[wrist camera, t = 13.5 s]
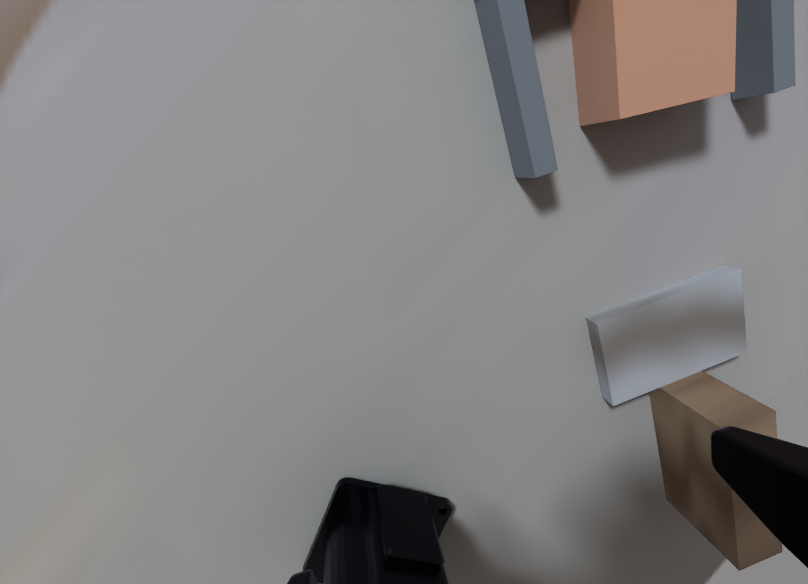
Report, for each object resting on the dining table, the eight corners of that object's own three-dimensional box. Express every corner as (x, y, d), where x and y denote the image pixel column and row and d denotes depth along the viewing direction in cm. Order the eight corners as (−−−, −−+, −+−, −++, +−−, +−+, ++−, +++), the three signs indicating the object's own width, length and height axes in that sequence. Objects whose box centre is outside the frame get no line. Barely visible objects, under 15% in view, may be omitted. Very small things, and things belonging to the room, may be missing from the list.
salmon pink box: (676, 102, 20) (734, 91, 17) (576, 126, 19) (620, 119, 16) (673, -22, 18) (738, -58, 15) (565, 1, 18) (611, -32, 15)
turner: (740, 466, 27) (829, 531, 22) (626, 515, 26) (691, 591, 21) (723, 264, 22) (829, 289, 17) (585, 317, 22) (656, 358, 17)
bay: (750, 93, 20) (795, 85, 18) (515, 177, 19) (535, 178, 17) (740, -111, 17) (790, -146, 15) (468, -24, 17) (486, -49, 15)
